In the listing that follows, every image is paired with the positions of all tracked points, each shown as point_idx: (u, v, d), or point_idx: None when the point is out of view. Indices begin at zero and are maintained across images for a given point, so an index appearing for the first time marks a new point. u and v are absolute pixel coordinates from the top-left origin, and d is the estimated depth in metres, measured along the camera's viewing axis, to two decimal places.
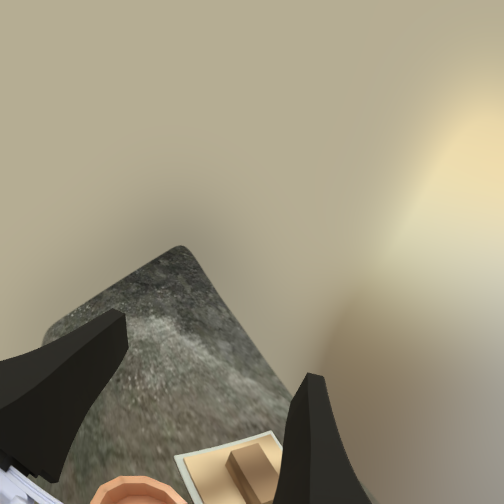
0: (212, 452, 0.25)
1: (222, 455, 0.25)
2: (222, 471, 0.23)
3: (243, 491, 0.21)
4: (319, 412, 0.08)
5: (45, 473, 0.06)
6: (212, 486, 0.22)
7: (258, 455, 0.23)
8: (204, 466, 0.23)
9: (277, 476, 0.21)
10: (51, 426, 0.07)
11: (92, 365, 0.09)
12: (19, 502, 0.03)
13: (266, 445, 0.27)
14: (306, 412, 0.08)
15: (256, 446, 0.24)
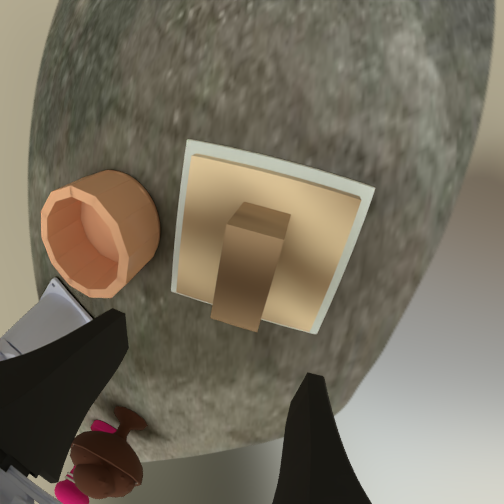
0: (240, 169, 0.17)
1: (252, 183, 0.17)
2: (233, 208, 0.18)
3: None
4: (319, 412, 0.08)
5: (45, 473, 0.06)
6: (205, 222, 0.19)
7: (264, 260, 0.15)
8: (212, 185, 0.17)
9: (261, 305, 0.16)
10: (51, 426, 0.07)
11: (93, 365, 0.09)
12: (19, 502, 0.03)
13: (334, 213, 0.17)
14: (306, 412, 0.08)
15: (273, 244, 0.14)
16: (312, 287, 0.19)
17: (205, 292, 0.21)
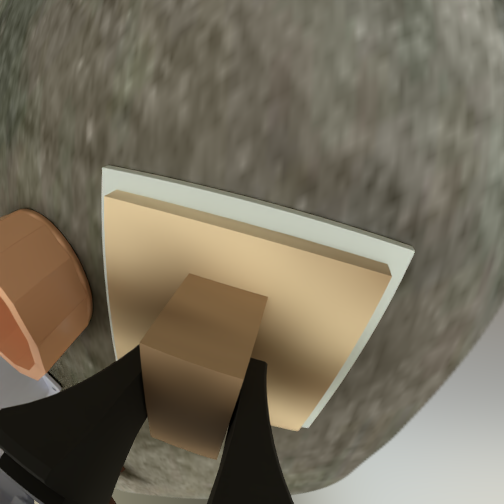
0: (178, 220, 0.09)
1: (200, 245, 0.10)
2: (174, 282, 0.11)
3: None
4: (251, 396, 0.08)
5: None
6: (137, 297, 0.11)
7: (212, 398, 0.08)
8: (139, 245, 0.10)
9: (218, 440, 0.09)
10: (107, 459, 0.06)
11: None
12: (19, 502, 0.03)
13: (344, 297, 0.09)
14: (239, 395, 0.08)
15: (225, 382, 0.07)
16: (302, 389, 0.12)
17: None
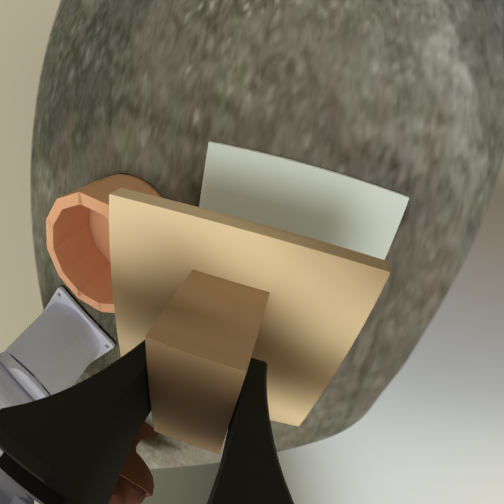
0: (182, 218, 0.10)
1: (203, 242, 0.10)
2: (177, 278, 0.11)
3: None
4: (251, 396, 0.08)
5: None
6: (140, 293, 0.12)
7: (215, 391, 0.08)
8: (144, 242, 0.10)
9: (221, 434, 0.09)
10: (107, 459, 0.06)
11: (145, 389, 0.09)
12: (19, 502, 0.03)
13: (344, 293, 0.10)
14: (239, 395, 0.08)
15: (229, 375, 0.07)
16: (303, 384, 0.12)
17: None
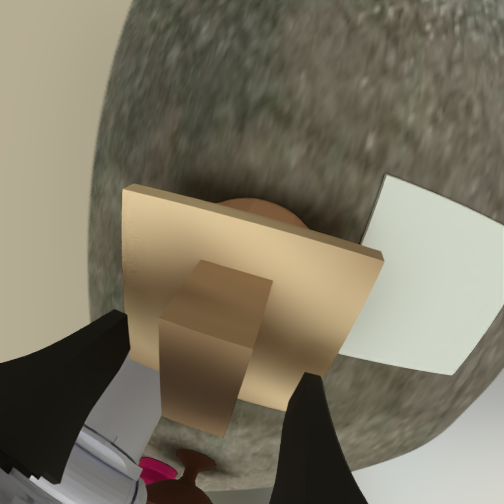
0: (192, 211, 0.11)
1: (211, 233, 0.11)
2: (186, 268, 0.12)
3: None
4: (316, 411, 0.08)
5: (47, 475, 0.06)
6: (150, 283, 0.12)
7: (223, 370, 0.09)
8: (155, 234, 0.11)
9: (226, 415, 0.10)
10: (53, 428, 0.06)
11: (95, 366, 0.09)
12: (19, 502, 0.03)
13: (342, 281, 0.11)
14: (303, 411, 0.08)
15: (237, 353, 0.08)
16: (304, 371, 0.13)
17: None
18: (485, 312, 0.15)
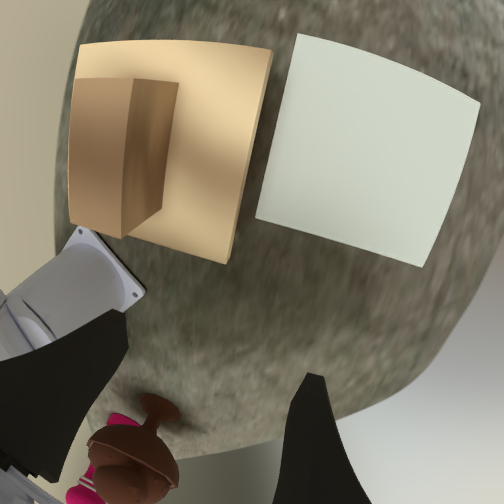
0: (123, 44, 0.11)
1: (135, 56, 0.11)
2: None
3: None
4: (319, 412, 0.08)
5: (45, 473, 0.06)
6: None
7: (112, 114, 0.09)
8: (97, 70, 0.11)
9: (118, 190, 0.10)
10: (51, 426, 0.07)
11: (93, 365, 0.09)
12: (19, 502, 0.03)
13: (235, 72, 0.11)
14: (306, 412, 0.08)
15: (122, 88, 0.08)
16: (218, 187, 0.13)
17: None
18: (441, 178, 0.15)
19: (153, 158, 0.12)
